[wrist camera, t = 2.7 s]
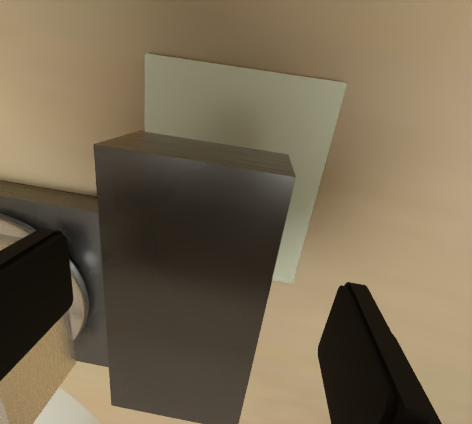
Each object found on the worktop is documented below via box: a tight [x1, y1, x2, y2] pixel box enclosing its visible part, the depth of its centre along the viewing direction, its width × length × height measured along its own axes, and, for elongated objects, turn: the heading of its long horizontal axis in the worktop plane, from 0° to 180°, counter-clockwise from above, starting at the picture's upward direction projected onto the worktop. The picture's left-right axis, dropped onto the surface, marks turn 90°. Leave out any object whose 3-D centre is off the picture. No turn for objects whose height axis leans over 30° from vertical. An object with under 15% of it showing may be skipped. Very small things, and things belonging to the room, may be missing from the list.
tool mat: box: [144, 53, 347, 284], centre depth 16 cm, size 12×10×1 cm
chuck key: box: [94, 131, 296, 424], centre depth 12 cm, size 9×4×9 cm, turn 172°
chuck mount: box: [0, 181, 109, 367], centre depth 20 cm, size 13×13×2 cm
